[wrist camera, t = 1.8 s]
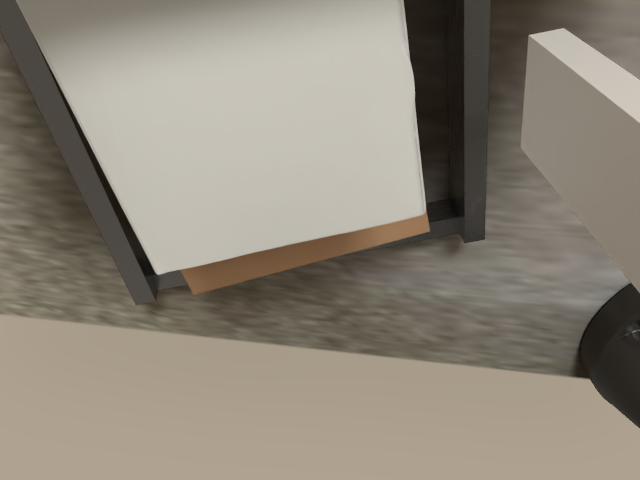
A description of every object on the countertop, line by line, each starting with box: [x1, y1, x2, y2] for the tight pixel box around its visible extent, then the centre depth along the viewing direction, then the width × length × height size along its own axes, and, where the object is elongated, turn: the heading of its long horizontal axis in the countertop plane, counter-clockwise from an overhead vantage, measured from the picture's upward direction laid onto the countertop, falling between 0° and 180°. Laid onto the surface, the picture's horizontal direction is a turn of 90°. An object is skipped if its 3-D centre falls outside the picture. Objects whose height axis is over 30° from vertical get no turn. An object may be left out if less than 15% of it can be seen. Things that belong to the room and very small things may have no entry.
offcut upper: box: [181, 211, 430, 295], centre depth 29 cm, size 7×13×3 cm, turn 105°
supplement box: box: [16, 0, 426, 275], centre depth 21 cm, size 9×9×15 cm
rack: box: [0, 0, 491, 305], centre depth 22 cm, size 23×21×18 cm
